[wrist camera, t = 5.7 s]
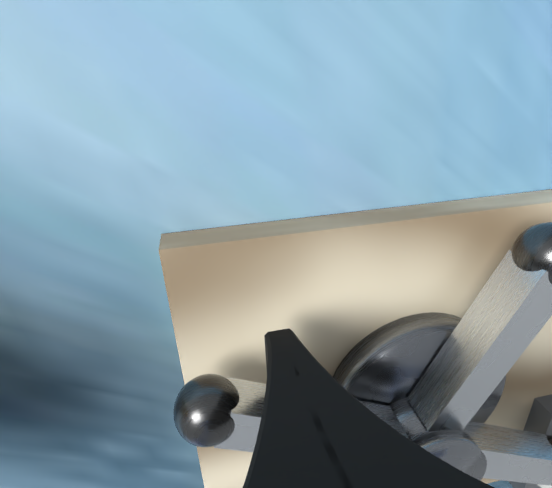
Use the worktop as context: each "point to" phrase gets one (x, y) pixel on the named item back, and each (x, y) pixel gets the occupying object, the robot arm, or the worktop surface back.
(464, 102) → the worktop surface
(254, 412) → the cam capstan
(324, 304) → the stand plate
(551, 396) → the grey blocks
